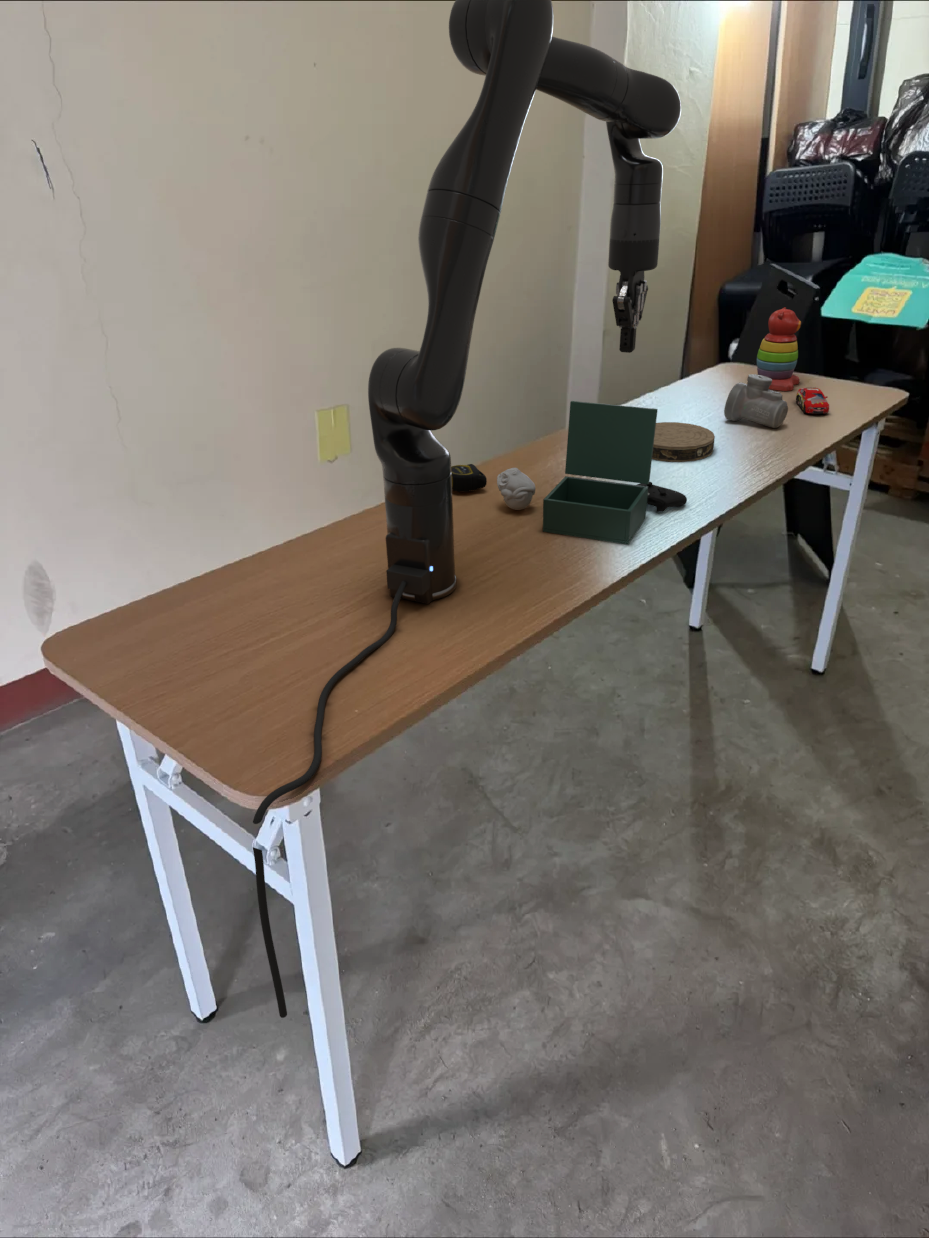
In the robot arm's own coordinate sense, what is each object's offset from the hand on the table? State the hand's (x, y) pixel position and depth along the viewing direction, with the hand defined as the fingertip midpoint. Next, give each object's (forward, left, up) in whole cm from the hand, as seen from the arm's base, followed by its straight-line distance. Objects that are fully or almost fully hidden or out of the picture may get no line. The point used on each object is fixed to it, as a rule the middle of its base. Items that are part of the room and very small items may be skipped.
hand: (627, 351), depth 141 cm
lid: (-8, 0, -13) cm, 15 cm away
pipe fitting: (+50, -16, -25) cm, 58 cm away
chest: (-14, 0, -25) cm, 29 cm away
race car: (+66, -26, -25) cm, 75 cm away
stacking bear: (+84, -16, -25) cm, 89 cm away
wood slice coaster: (+28, -3, -25) cm, 38 cm away
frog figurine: (-12, +15, -25) cm, 31 cm away
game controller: (-2, -7, -25) cm, 26 cm away
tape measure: (-6, +27, -25) cm, 37 cm away
